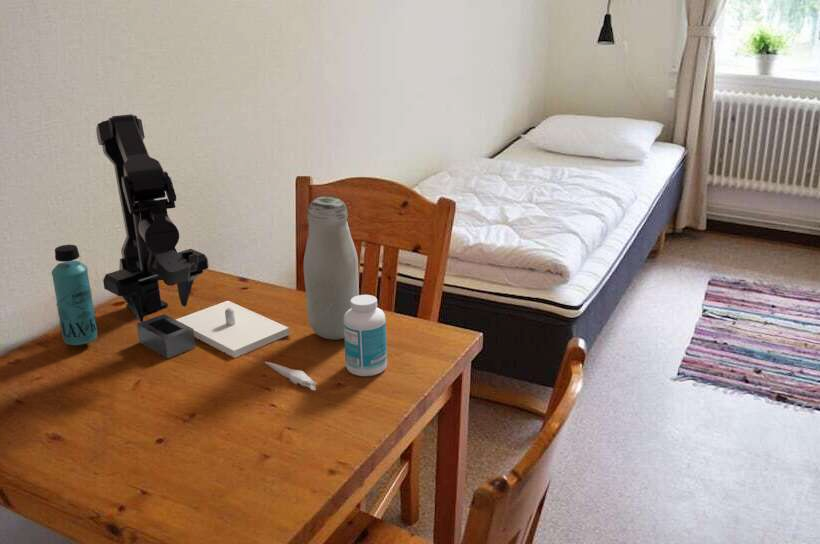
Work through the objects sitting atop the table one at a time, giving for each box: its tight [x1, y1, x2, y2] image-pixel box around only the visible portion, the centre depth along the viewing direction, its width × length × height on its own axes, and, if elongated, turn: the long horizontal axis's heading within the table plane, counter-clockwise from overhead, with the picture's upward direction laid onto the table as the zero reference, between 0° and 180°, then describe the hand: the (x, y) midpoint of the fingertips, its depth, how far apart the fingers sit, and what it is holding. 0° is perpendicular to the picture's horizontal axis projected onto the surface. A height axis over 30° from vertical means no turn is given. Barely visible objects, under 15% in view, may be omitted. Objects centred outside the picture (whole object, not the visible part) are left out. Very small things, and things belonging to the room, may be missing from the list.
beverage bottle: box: [51, 244, 99, 346], centre depth 152 cm, size 6×7×20 cm
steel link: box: [136, 313, 196, 360], centre depth 154 cm, size 10×6×4 cm, turn 48°
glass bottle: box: [303, 196, 360, 341], centre depth 153 cm, size 10×10×28 cm
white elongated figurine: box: [264, 361, 318, 392], centre depth 143 cm, size 15×3×2 cm, turn 45°
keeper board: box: [175, 300, 290, 359], centre depth 160 cm, size 20×13×5 cm, turn 48°
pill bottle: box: [343, 294, 388, 377], centre depth 144 cm, size 8×7×14 cm
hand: (163, 313), depth 153 cm, fingers open, 9 cm apart
